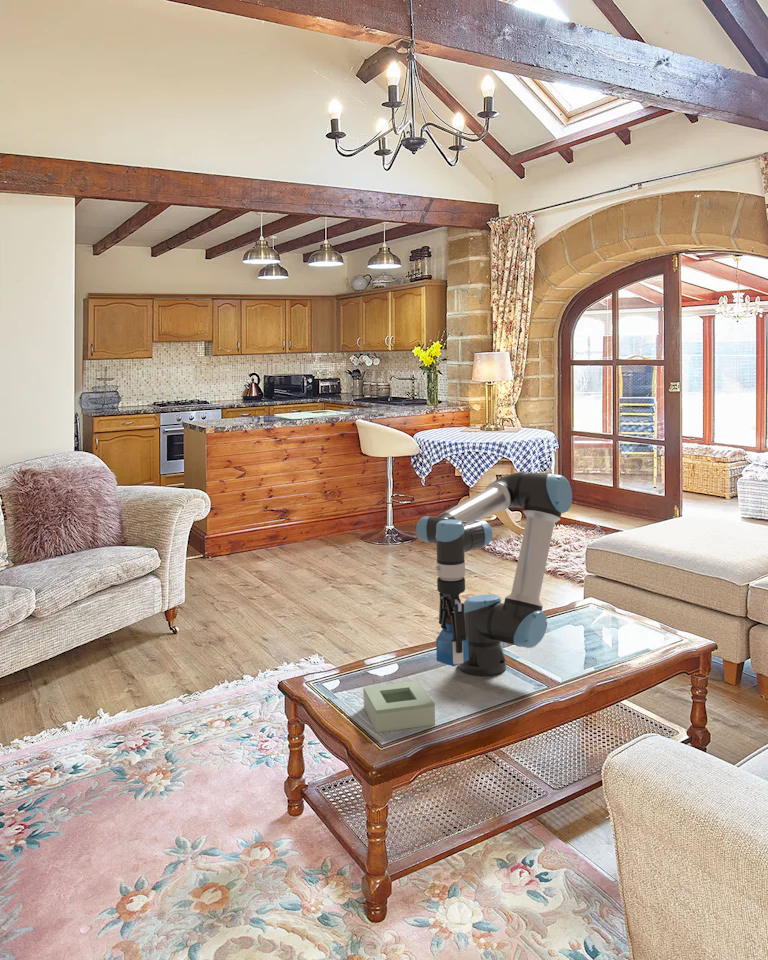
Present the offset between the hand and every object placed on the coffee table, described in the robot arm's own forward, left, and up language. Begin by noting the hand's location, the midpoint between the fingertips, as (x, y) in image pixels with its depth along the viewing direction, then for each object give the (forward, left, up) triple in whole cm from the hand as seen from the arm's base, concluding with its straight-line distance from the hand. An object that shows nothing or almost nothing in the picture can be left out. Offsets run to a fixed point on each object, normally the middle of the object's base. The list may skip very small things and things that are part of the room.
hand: (452, 657), depth 207 cm
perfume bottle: (0, 0, -1) cm, 1 cm away
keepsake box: (+15, -2, -16) cm, 22 cm away
